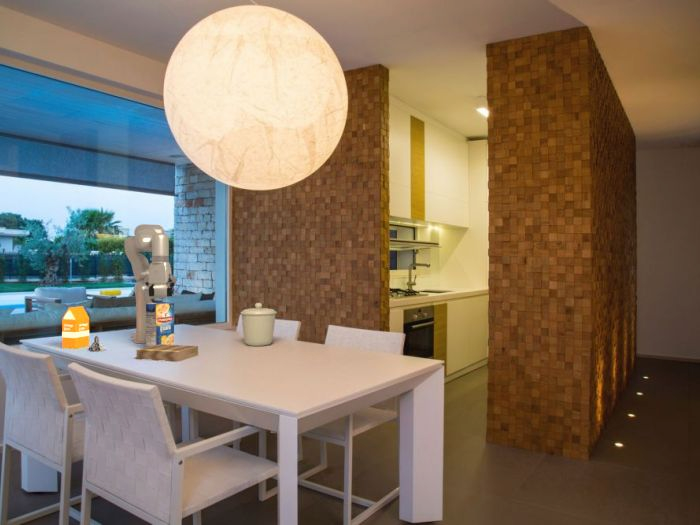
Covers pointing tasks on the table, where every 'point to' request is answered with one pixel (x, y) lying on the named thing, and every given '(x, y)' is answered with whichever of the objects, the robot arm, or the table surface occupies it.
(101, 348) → the house of cards
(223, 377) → the table surface
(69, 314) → the orange juice
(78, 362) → the table surface
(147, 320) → the beverage box
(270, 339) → the canister
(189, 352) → the tan flat block
